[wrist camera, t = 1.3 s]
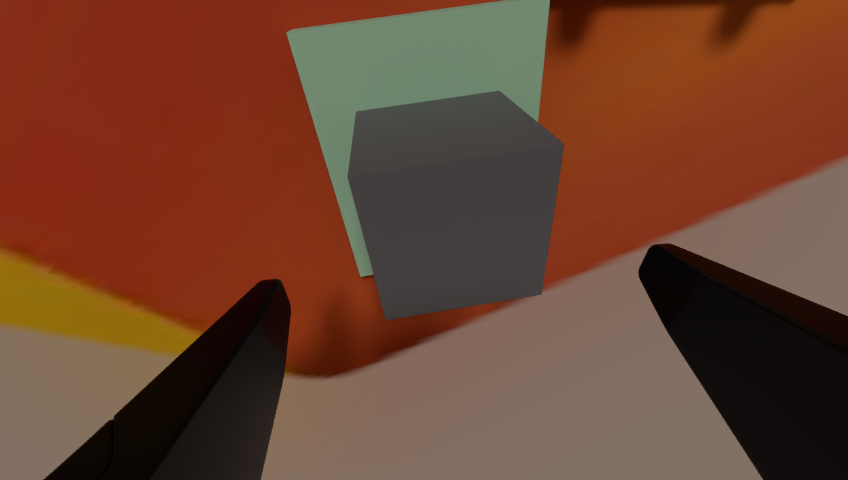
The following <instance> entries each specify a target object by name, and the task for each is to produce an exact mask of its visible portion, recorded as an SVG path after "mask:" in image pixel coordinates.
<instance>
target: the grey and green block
mask: <svg viewBox="0 0 848 480" xmlns="http://www.w3.org/2000/svg"><path fill="white" fill-rule="evenodd" d="M549 5H550V0H504V1H496V2H489V3H482V4H475V5H467V6H460V7H453V8H445V9H438V10H431V11H423V12H416V13H409V14H402V15H394V16H387V17H380V18H372V19H365V20H358V21H350V22H343V23H336V24H329V25H321V26H314V27H307V28H299V29H292V30H290V31H289V32H287V36H288V40H289V43H290V46H291V50H292V53H293V56H294V59H295V63H296V66H297V69H298V73H299V76H300V79H301V82H302V86H303V89H304V92H305V96H306V99H307V102H308V106H309V109H310V112H311V115H312V119H313V122H314V125H315V129H316V132H317V135H318V138H319V142H320V145H321V148H322V152H323V155H324V158H325V161H326V165H327V168H328V171H329V175H330V178H331V181H332V184H333V188H334V191H335V194H336V198H337V201H338V204H339V207H340V211H341V214H342V217H343V221H344V224H345V227H346V230H347V234H348V237H349V240H350V244H351V247H352V250H353V254H354V257H355V260H356V263H357V267H358V270H359V273H360V277H362V276H369V275H374V278H375V281H376V285H377V289H378V292H379V296H380V300H381V304H382V307H383V311H384V315H385V318H386V320H391V319H397V318H403V317H409V316H415V315H421V314H427V313H433V312H439V311H445V310H451V309H457V308H463V307H469V306H475V305H481V304H487V303H493V302H499V301H505V300H511V299H517V298H523V297H529V296H535V295H541V293H542V287H543V280H544V274H545V267H546V260H547V254H548V247H549V241H550V234H551V228H552V221H553V215H554V208H555V201H556V195H557V188H558V182H559V175H560V169H561V162H562V155H563V149H564V144H563V143H562V142H561V141H560V140H559V139H557V138H556V137H555V136H554V135H553V134H551V133H550V132H549V131H548V130H547V129H545V128H544V127H543V126H542V125H540V124H539V123H538V116H539V106H540V96H541V85H542V75H543V65H544V55H545V45H546V35H547V25H548V15H549Z"/></svg>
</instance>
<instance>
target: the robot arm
mask: <svg viewBox="0 0 848 480" xmlns="http://www.w3.org/2000/svg"><path fill="white" fill-rule="evenodd" d="M638 273H639V278H640V280H641V282H642V284H643V286H644V288H645V290H646V292H647V294H648V296H649V298H650V300H651V302H652V304H653V306H654V308H655V310H656V311H657V313H658V315H659V317H660V319H661V321H662V323H663V325H664V327H665V328H666V330H667V332H668V334H669V335H670V337H671V338H672V340H673V341H674V343H675V345H676V346H677V348H678V349H679V351H680V352H681V354H682V356H683V357H684V358H685V360H686V361H687V363H688V365H689V366H690V368H691V369H692V371H693V372H694V374H695V376H696V377H697V379H698V380H699V382H700V383H701V385H702V386H703V388H704V389H705V391H706V393H707V394H708V396H709V397H710V399H711V400H712V402H713V403H714V405H715V406H716V408H717V409H718V411H719V412H720V414H721V415H722V417H723V419H724V420H725V422H726V423H727V425H728V426H729V428H730V429H731V431H732V433H733V434H734V436H735V437H736V439H737V440H738V442H739V443H740V445H741V446H742V448H743V450H744V451H745V453H746V454H747V456H748V457H749V459H750V460H751V462H752V463H753V465H754V466H755V468H756V470H757V471H758V473H759V474H760V476H761V477H762V479H763V480H848V316H846V315H844V314H841V313H839V312H836V311H834V310H831V309H829V308H827V307H824V306H822V305H819V304H817V303H814V302H812V301H809V300H807V299H805V298H802V297H800V296H797V295H795V294H792V293H790V292H787V291H785V290H783V289H780V288H778V287H775V286H773V285H770V284H768V283H765V282H763V281H761V280H758V279H756V278H753V277H751V276H748V275H746V274H744V273H741V272H738V271H736V270H734V269H731V268H729V267H726V266H724V265H722V264H719V263H717V262H714V261H712V260H709V259H707V258H704V257H702V256H700V255H697V254H694V253H692V252H690V251H687V250H685V249H683V248H680V247H678V246H675V245H672V244H656V245H652V246H651V247H650V248H649V249H648V251H647V253H646V255H645V257H644V259H643V262H642V264H641V266H640V268H639V272H638ZM290 316H291V306H290V302H289V299H288V297H287V294H286V291H285V289H284V286H283V283H282V282H281V280H279V279H270V280H262V281H260V282H259V283H257V284H256V285H255V286H254V287H253V288H252V289H251V290H250V291H249V292H248V293H246V294H245V295H244V296H243V297H242V298H241V299H240V300H239V301H238V302H237V303H236V304H235V305H233V306H232V307H231V308H230V309H229V310H228V311H227V312H226V313H225V314H224V315H223V316H222V317H221V318H219V319H218V320H217V321H216V322H215V323H214V324H213V325H212V326H211V327H210V328H209V329H208V330H206V331H205V332H204V333H203V334H202V335H201V336H200V337H199V338H198V339H197V340H196V341H195V342H193V343H192V344H191V345H190V346H189V347H188V348H187V349H186V350H185V351H184V352H183V353H182V354H180V355H179V356H178V357H177V358H176V359H175V360H174V361H173V362H172V363H171V364H170V365H169V366H168V367H166V368H165V369H164V370H163V371H162V372H161V373H160V374H159V375H158V376H157V377H156V378H155V379H153V380H152V381H151V382H150V383H149V384H148V385H147V386H146V387H145V388H144V389H143V390H142V391H140V393H138V394H137V395H136V396H135V397H134V398H133V399H132V400H131V401H130V402H129V403H128V404H126V405H125V406H124V407H123V408H122V409H121V410H120V411H119V412H118V413H117V414H116V415H115V416H114V420H109V421H108V422H107V423H106V424H105V425H104V426H102V427H101V428H100V429H99V430H98V431H97V432H96V433H95V434H94V435H93V436H92V437H90V438H89V439H88V440H87V441H86V442H85V443H84V444H83V445H82V446H81V447H79V448H78V449H77V450H76V451H75V452H74V453H73V454H72V455H70V457H68V458H67V459H66V460H65V461H64V462H63V463H62V464H60V465H59V466H58V467H57V468H56V469H55V470H54V471H53V472H52V473H50V474H49V475H48V476H47V477H46V478H45V479H43V480H261V475H262V471H263V466H264V462H265V458H266V454H267V449H268V445H269V440H270V436H271V431H272V427H273V423H274V418H275V414H276V410H277V405H278V401H279V396H280V391H281V388H282V383H283V378H284V372H285V364H286V354H287V345H288V335H289V326H290Z"/></svg>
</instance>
